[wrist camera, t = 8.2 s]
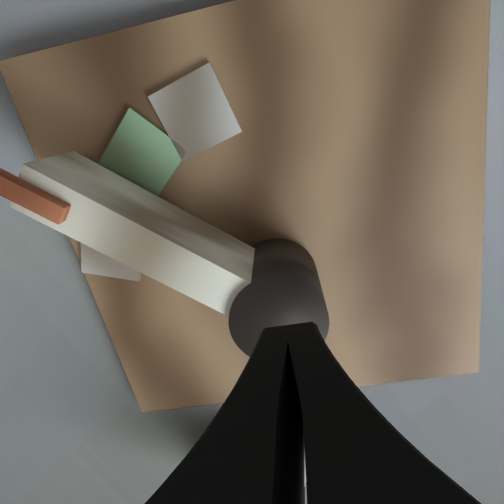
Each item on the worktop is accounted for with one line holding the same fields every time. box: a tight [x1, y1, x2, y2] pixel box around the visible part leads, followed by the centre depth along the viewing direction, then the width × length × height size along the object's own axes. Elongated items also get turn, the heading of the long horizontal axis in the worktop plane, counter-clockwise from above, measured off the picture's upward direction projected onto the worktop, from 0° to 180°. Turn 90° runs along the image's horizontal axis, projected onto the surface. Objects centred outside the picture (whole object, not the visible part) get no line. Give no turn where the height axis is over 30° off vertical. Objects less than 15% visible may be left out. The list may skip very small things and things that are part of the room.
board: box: [0, 0, 490, 413], centre depth 18 cm, size 20×20×1 cm
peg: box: [0, 151, 329, 357], centre depth 16 cm, size 14×4×5 cm, turn 61°
